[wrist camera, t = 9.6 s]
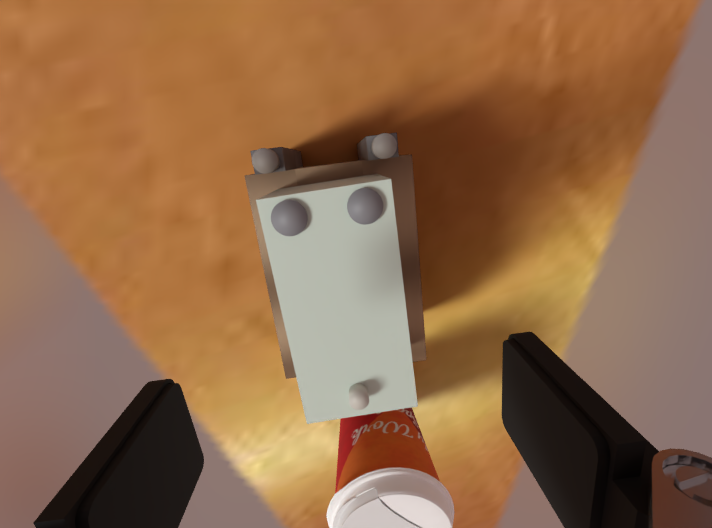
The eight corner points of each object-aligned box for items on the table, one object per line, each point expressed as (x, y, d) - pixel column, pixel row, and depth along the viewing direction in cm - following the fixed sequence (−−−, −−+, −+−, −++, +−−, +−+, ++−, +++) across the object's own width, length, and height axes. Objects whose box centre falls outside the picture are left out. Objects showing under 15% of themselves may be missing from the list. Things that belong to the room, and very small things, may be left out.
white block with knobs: (278, 189, 21) (251, 202, 15) (376, 173, 21) (393, 179, 15) (314, 362, 25) (305, 435, 18) (399, 348, 25) (421, 416, 18)
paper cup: (426, 368, 33) (484, 509, 20) (392, 431, 35) (425, 598, 22) (349, 341, 32) (357, 471, 19) (318, 408, 34) (305, 569, 21)
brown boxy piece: (264, 155, 27) (221, 153, 17) (392, 139, 27) (424, 128, 17) (297, 332, 32) (277, 412, 22) (407, 317, 32) (439, 391, 22)
